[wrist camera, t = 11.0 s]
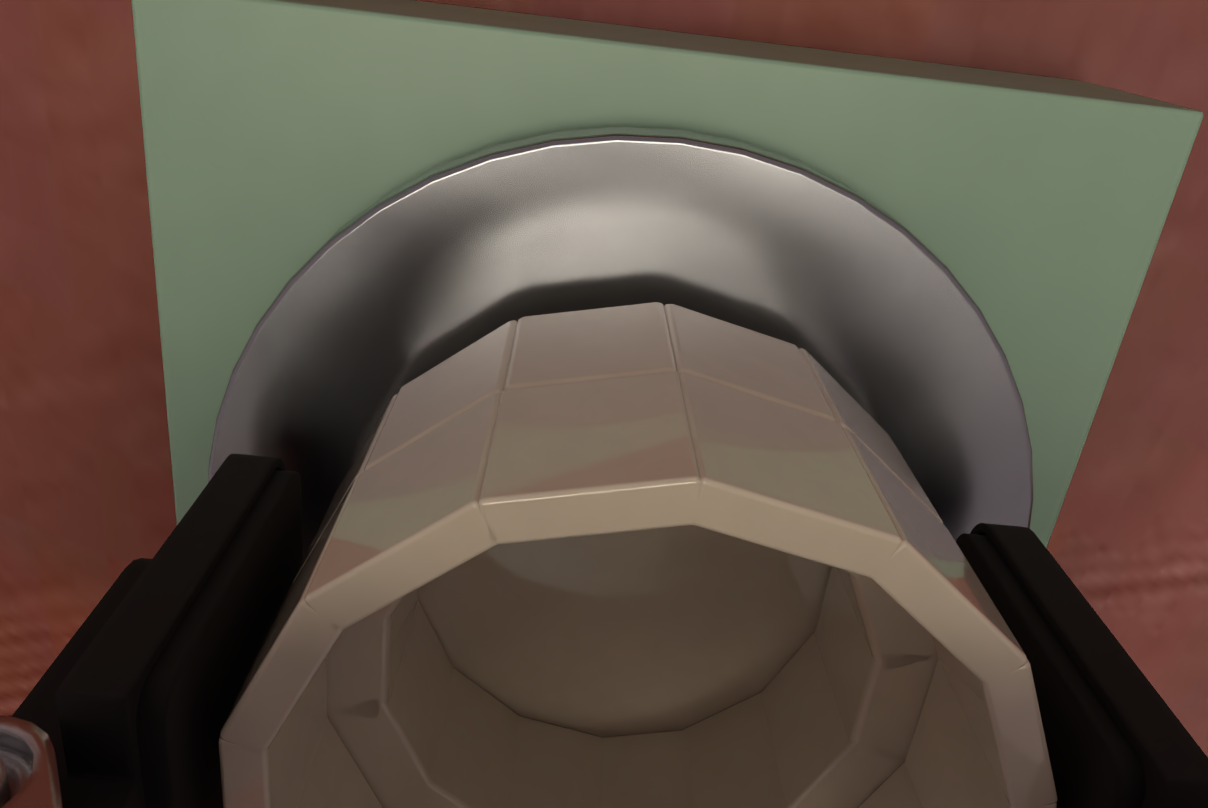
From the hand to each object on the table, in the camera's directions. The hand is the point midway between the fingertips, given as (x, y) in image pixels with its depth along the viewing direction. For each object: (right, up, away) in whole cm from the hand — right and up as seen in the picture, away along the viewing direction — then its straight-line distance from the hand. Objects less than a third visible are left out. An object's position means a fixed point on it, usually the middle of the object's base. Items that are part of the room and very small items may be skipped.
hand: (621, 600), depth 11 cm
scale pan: (0, +1, +1) cm, 2 cm away
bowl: (0, 0, +1) cm, 1 cm away
